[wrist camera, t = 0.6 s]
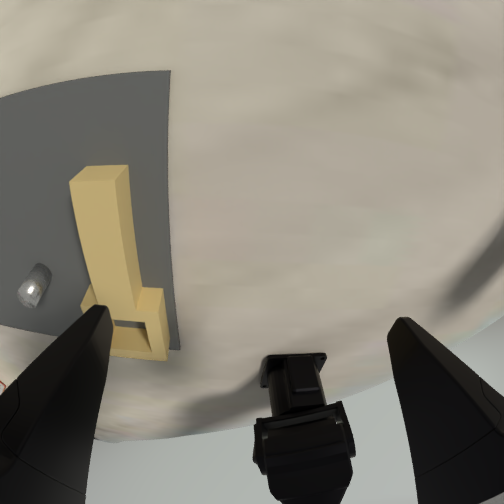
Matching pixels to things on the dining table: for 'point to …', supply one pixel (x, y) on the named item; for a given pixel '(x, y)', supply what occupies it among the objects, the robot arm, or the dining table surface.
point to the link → (117, 262)
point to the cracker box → (1, 387)
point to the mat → (59, 195)
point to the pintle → (34, 285)
